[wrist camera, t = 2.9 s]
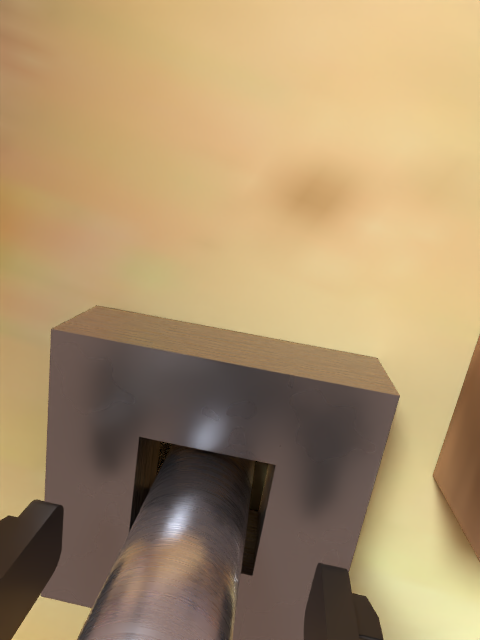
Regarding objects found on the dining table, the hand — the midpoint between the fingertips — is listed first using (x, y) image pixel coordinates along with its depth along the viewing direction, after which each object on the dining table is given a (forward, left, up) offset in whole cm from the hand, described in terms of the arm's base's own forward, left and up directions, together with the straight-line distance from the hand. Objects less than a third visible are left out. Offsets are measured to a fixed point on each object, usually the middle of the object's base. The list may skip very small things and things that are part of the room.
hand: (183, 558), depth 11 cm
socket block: (0, 0, -5) cm, 5 cm away
